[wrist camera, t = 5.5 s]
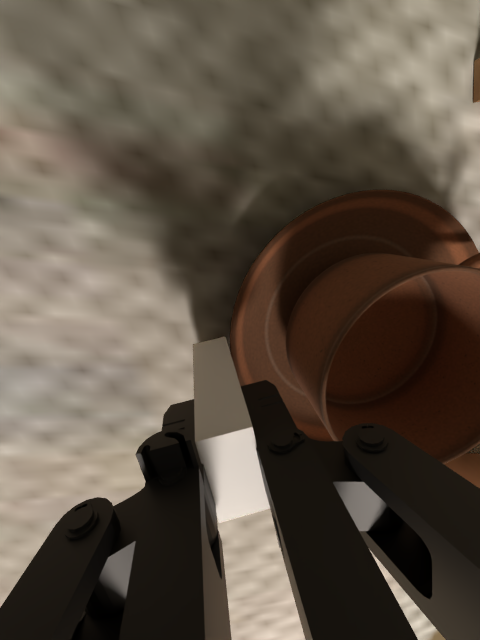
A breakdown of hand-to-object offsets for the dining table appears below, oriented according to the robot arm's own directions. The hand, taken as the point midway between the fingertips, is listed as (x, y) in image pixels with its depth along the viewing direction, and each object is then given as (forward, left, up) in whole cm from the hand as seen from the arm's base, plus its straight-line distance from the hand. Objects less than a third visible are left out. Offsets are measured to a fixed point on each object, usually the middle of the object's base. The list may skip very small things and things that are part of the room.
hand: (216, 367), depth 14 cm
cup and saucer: (0, +7, -2) cm, 7 cm away
